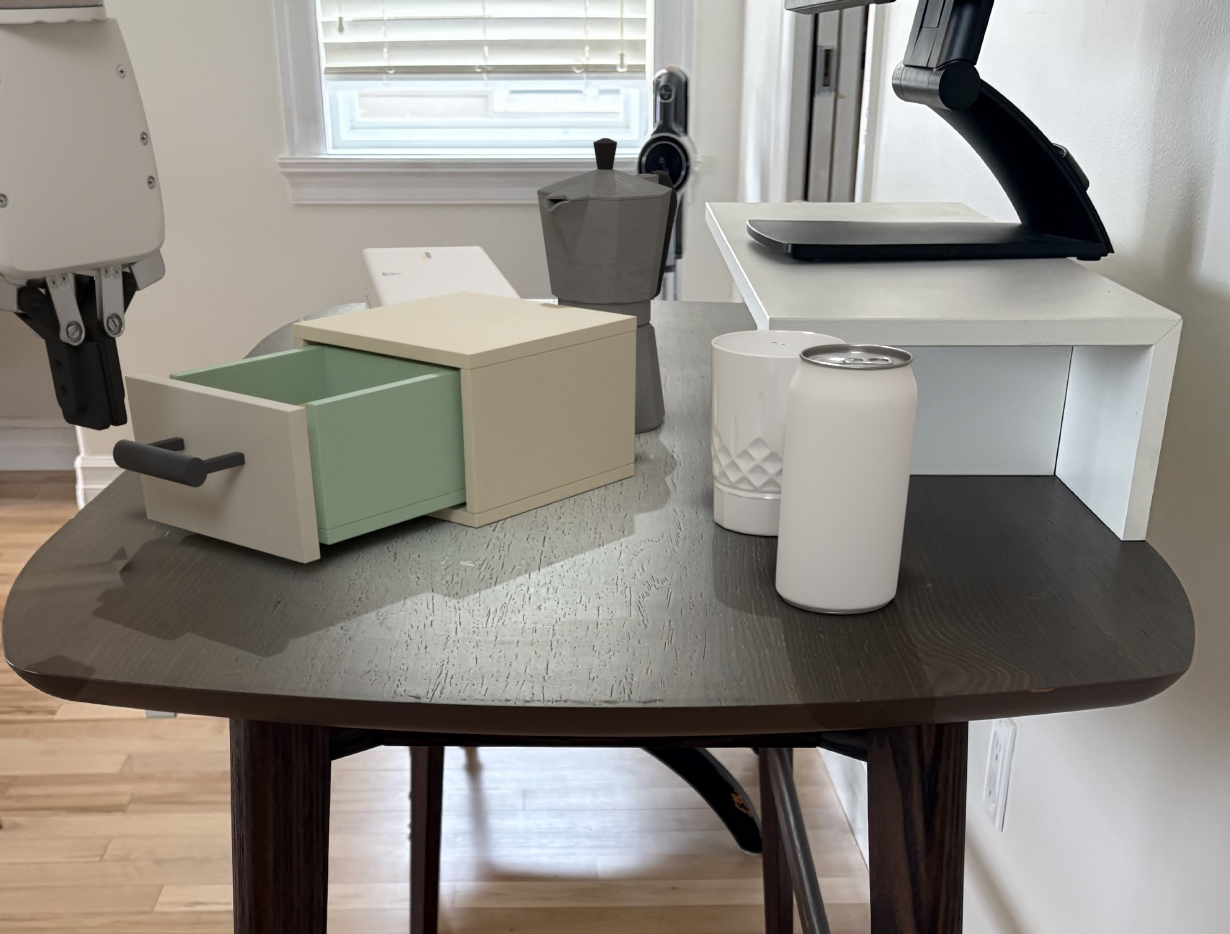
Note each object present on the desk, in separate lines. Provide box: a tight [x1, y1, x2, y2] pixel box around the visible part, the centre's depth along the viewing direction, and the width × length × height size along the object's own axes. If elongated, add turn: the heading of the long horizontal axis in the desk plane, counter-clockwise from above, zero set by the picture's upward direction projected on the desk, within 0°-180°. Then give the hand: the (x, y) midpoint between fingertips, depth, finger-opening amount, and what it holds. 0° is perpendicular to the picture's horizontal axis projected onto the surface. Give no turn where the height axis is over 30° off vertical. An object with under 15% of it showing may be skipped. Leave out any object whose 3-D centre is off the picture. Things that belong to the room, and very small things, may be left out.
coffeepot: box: [536, 137, 678, 434], centre depth 112 cm, size 15×9×18 cm, turn 146°
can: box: [775, 343, 919, 616], centre depth 81 cm, size 6×6×12 cm
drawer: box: [112, 343, 466, 564], centre depth 90 cm, size 19×13×8 cm
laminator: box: [361, 245, 522, 310], centre depth 134 cm, size 34×12×6 cm, turn 11°
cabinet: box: [291, 291, 637, 528], centre depth 100 cm, size 16×15×10 cm
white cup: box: [710, 329, 849, 537], centre depth 93 cm, size 8×8×10 cm
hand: (96, 422), depth 80 cm, fingers closed
